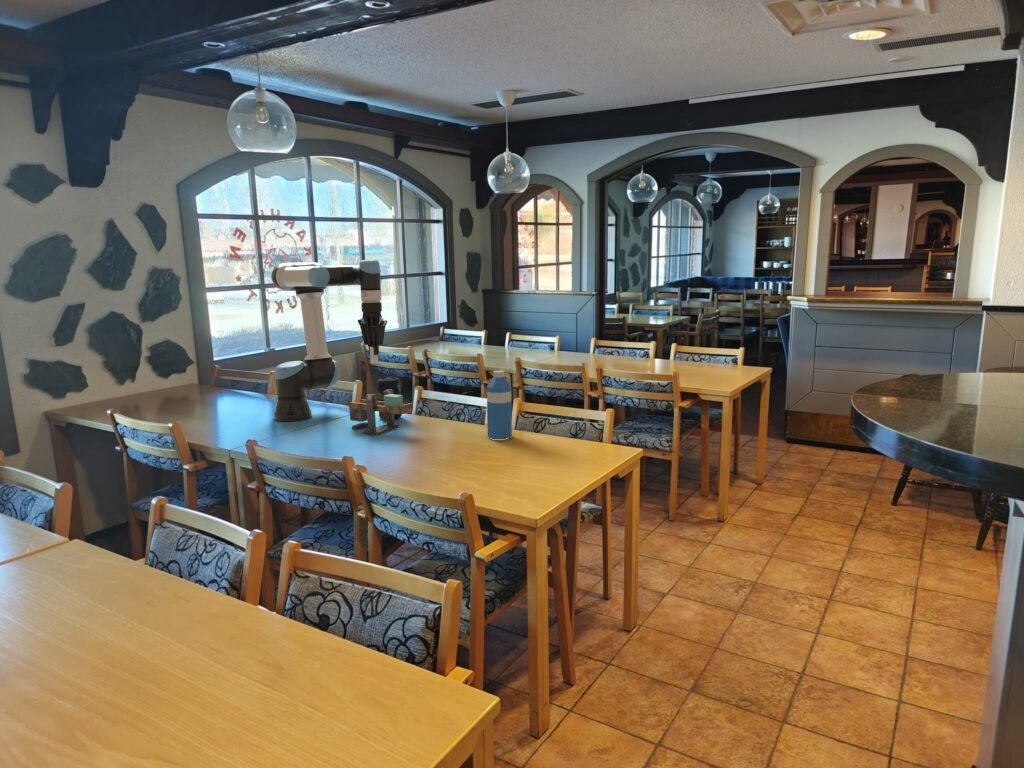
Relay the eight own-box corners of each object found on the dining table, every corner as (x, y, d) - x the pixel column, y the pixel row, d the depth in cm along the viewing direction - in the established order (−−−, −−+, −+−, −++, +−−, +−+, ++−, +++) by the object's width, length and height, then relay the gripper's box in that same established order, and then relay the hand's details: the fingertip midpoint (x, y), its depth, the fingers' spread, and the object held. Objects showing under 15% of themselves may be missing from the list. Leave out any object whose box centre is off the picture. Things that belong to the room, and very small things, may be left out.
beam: (348, 420, 267) (346, 391, 265) (364, 415, 274) (362, 387, 272) (400, 428, 254) (398, 397, 252) (415, 422, 261) (413, 393, 259)
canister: (399, 421, 279) (397, 378, 276) (376, 421, 279) (374, 378, 276) (403, 415, 289) (401, 374, 285) (381, 415, 289) (379, 374, 285)
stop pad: (352, 428, 268) (351, 425, 268) (364, 424, 274) (364, 422, 274) (357, 429, 266) (357, 426, 266) (369, 425, 272) (369, 422, 272)
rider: (384, 408, 259) (383, 395, 259) (390, 406, 263) (390, 393, 262) (396, 410, 256) (395, 397, 256) (403, 408, 260) (402, 395, 259)
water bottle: (482, 439, 251) (481, 372, 246) (494, 433, 259) (493, 368, 254) (504, 441, 247) (503, 374, 242) (516, 435, 255) (516, 370, 250)
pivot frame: (363, 433, 260) (361, 394, 257) (387, 425, 272) (385, 388, 269) (375, 435, 257) (373, 396, 254) (399, 427, 269) (397, 389, 266)
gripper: (351, 301, 256) (354, 363, 261) (377, 302, 250) (380, 365, 254) (365, 300, 263) (368, 360, 267) (391, 301, 256) (394, 363, 261)
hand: (374, 363), depth 261 cm, fingers closed
